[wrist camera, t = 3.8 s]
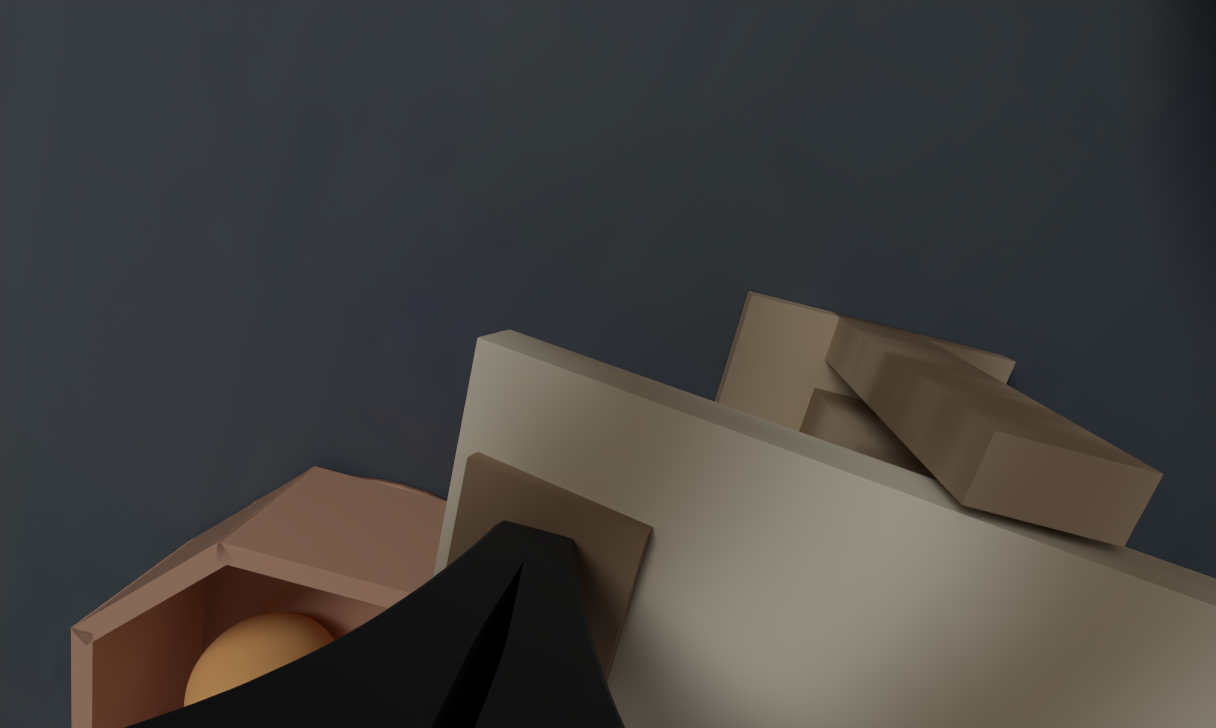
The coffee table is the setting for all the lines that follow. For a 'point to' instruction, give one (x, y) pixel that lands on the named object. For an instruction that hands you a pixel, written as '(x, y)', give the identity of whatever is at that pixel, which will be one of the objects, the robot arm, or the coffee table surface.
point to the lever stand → (931, 417)
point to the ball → (253, 652)
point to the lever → (811, 569)
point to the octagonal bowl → (253, 587)
